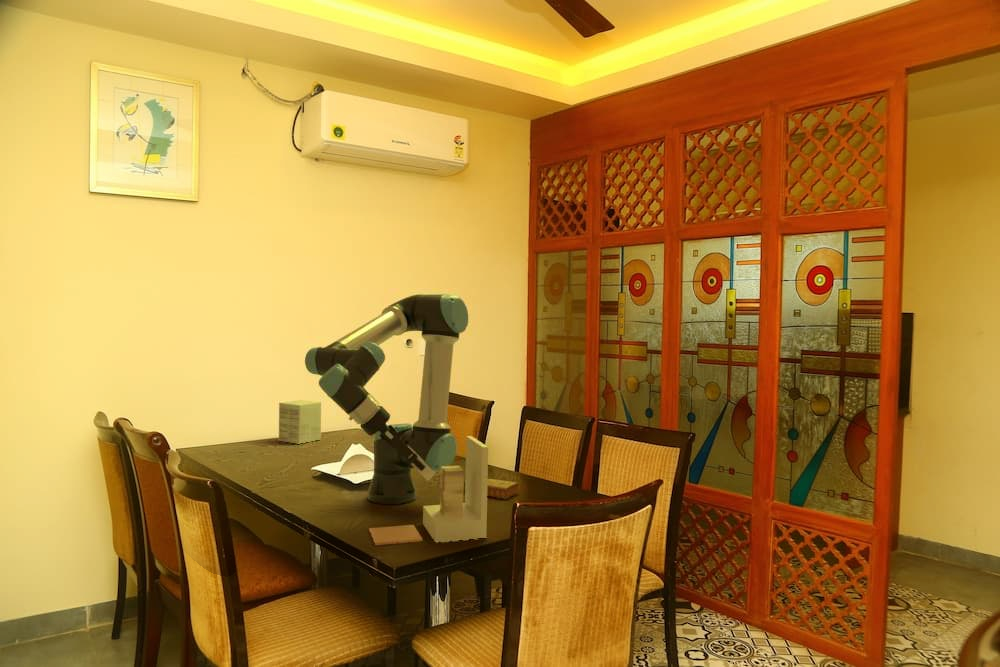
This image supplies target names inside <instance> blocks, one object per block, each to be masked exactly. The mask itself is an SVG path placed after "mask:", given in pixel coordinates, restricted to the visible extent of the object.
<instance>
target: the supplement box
mask: <svg viewBox="0 0 1000 667" xmlns="http://www.w3.org/2000/svg"><path fill="white" fill-rule="evenodd" d="M278 404H279V405H278V442H279V441H285V442H291V443H297V444H300V443H305V442H310V441H315V440H320V441H321V440H322V439H321V438H322V402H321V401H313V400H305V399H304V400H303V399H299V400H292V401H284V402H279V403H278ZM285 442H284V443H285ZM315 442H316V441H315ZM291 443H290V444H291ZM310 443H311V442H310ZM297 444H296V445H297ZM305 444H306V443H305Z"/></svg>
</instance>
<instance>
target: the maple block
mask: <svg viewBox="0 0 1000 667" xmlns="http://www.w3.org/2000/svg"><path fill="white" fill-rule="evenodd" d="M464 471H465V469H463V468H462V467H461V466H460V465H450V466H442V467H441V472H440V480H439V481H440V482H439V484H440V488H439V505H440V511H441V513H442V514H443V515H444V516H456V515H463V503H464V482H465V480H464V478H465V476H464V475H465V472H464Z"/></svg>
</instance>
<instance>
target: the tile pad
mask: <svg viewBox="0 0 1000 667" xmlns="http://www.w3.org/2000/svg"><path fill="white" fill-rule="evenodd" d="M368 530H369V531H368V532H369V534H370V533H371V534H370V536H371V539H372V538H373V539H372V540H373V544H374V543H375V544H374V546H383V545H386V544H387V545H395V544H396V545H397V543H398V544H408V543H409V542H410V543H419V542H421V543H422V542H424V541H423V536H421V535H420V532H419V530H418V529H417V528H416V526H415V525H414V524H406V525H394V526H393V525H392V526H380V527H369V528H368ZM410 543H409V544H410Z"/></svg>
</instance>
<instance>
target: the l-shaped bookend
mask: <svg viewBox="0 0 1000 667" xmlns="http://www.w3.org/2000/svg"><path fill="white" fill-rule="evenodd" d="M465 438H466V439H465V476H464V478H465V480H464V482H465V493H464V502H463V515H456V516H444V515H443V514H442V513H441V511H440V504H435V505H434V504H433V505H423V506H422V525H423V526H424V527H425V529H426V531H427V532H428V534H429V535H430V537H431V538H432V539H434V540H433V541H434V543H435V542H436V544H439V543H438V542H441V543H448V542H450V541H452V542H460V541H459V540H463V541H469V539H474V540H479V539H478V538H486V539H487V522H488V519H487V517H488V497H487V484H488V478H489V477H488V476H489V475H488V473H489V446H487V444H484V443H483V442H481V441H480V440H479V439H477V438H475V437H474V436H472V435H467V436H465ZM450 543H451V542H450Z"/></svg>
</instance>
